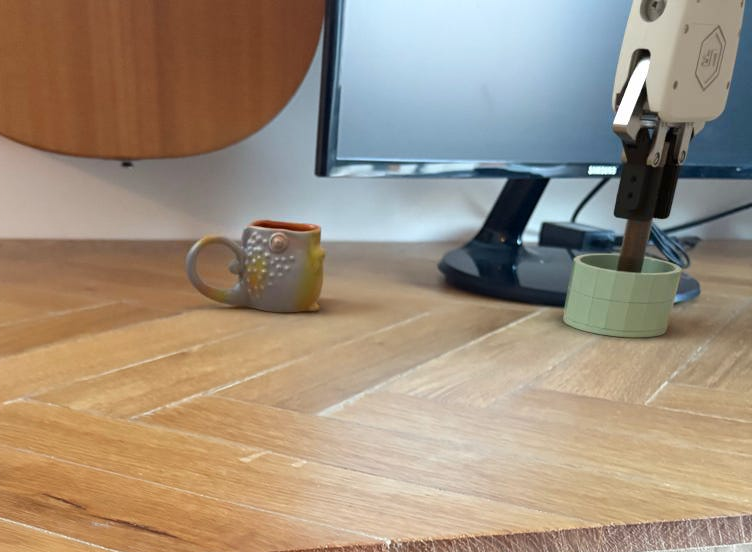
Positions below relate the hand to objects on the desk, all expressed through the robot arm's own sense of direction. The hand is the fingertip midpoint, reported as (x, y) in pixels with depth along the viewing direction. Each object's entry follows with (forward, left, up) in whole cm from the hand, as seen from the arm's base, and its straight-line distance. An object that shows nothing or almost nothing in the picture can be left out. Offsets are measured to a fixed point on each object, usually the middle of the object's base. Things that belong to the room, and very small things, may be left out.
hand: (641, 216), depth 81 cm
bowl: (+1, 0, -9) cm, 9 cm away
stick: (0, 0, -7) cm, 7 cm away
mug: (+31, -8, -9) cm, 33 cm away
